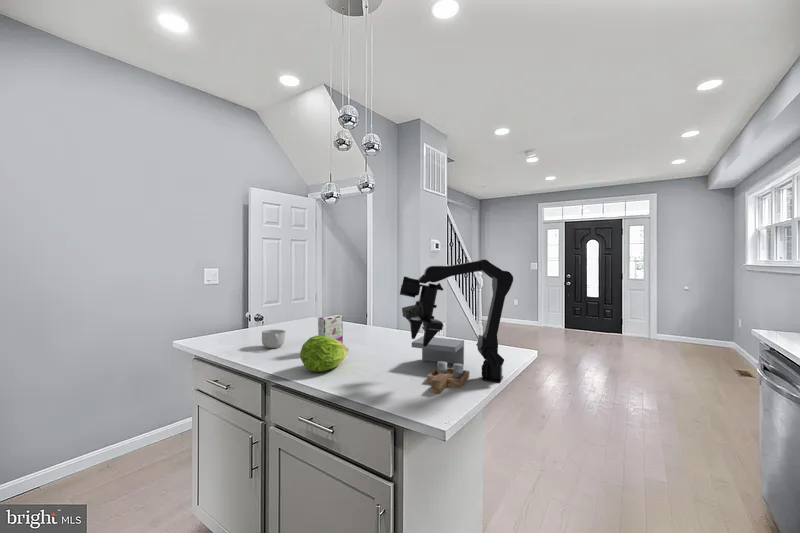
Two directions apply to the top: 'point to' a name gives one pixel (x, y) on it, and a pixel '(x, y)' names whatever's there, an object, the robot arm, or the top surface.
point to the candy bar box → (331, 327)
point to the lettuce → (322, 353)
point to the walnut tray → (447, 377)
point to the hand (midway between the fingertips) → (418, 342)
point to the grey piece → (442, 350)
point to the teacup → (273, 338)
